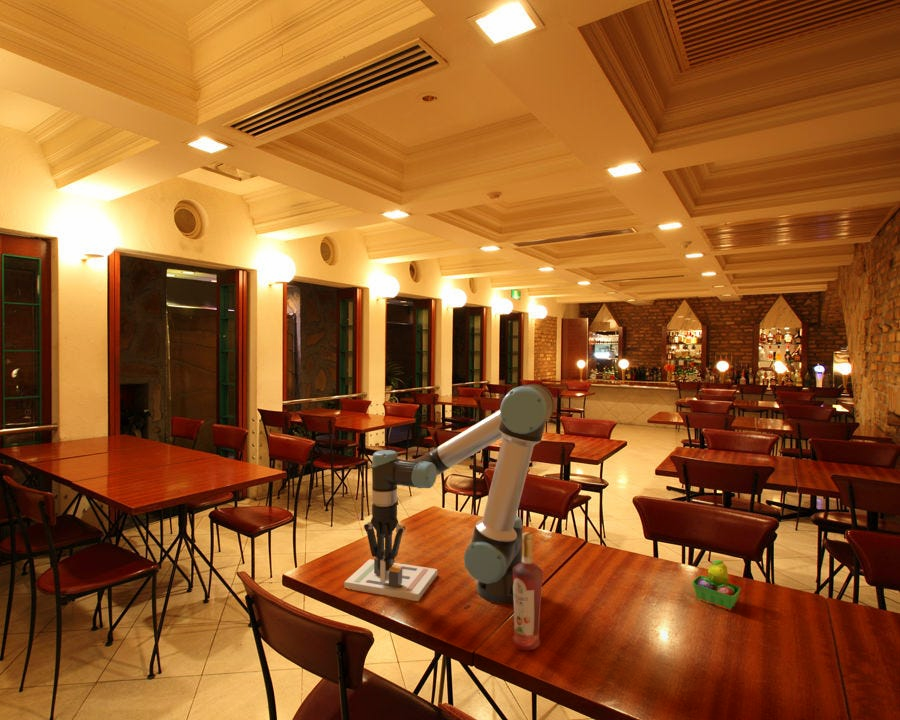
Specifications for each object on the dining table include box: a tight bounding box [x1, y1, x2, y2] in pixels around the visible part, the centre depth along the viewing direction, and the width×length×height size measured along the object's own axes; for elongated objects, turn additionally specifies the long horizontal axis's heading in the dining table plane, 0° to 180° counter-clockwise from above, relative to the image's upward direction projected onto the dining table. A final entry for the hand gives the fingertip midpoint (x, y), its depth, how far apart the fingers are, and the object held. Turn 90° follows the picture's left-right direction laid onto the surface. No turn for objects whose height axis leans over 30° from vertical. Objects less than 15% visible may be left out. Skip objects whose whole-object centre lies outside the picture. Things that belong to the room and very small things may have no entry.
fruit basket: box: [691, 559, 742, 610], centre depth 144 cm, size 11×9×11 cm
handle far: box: [384, 549, 396, 566], centre depth 161 cm, size 3×3×4 cm
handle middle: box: [373, 556, 385, 574], centre depth 155 cm, size 3×3×4 cm
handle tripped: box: [389, 565, 402, 587], centre depth 147 cm, size 3×3×5 cm
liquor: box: [511, 531, 543, 652], centre depth 121 cm, size 7×7×28 cm
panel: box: [344, 558, 438, 602], centre depth 154 cm, size 24×17×2 cm
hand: (384, 580), depth 148 cm, fingers closed
